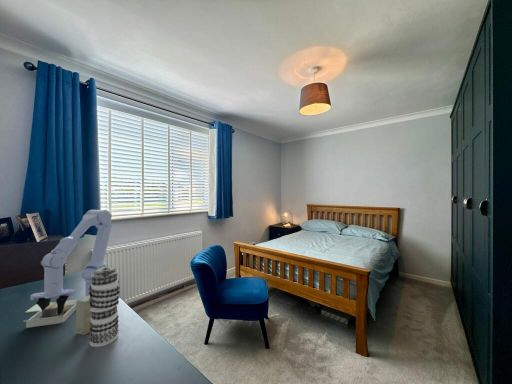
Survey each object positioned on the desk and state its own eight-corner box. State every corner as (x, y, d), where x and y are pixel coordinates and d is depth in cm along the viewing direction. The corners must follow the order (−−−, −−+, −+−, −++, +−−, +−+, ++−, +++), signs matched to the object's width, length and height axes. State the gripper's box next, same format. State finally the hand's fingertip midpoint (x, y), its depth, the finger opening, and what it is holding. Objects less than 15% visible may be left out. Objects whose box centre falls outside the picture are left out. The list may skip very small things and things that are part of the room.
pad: (54, 303, 103) (54, 302, 103) (44, 310, 97) (44, 309, 97) (36, 305, 101) (36, 304, 101) (25, 313, 94) (25, 312, 95)
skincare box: (84, 335, 80) (85, 302, 80) (74, 333, 80) (75, 300, 81) (100, 325, 86) (100, 294, 86) (91, 324, 87) (91, 293, 87)
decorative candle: (88, 337, 79) (88, 268, 79) (118, 327, 84) (118, 263, 85) (87, 351, 71) (88, 275, 72) (120, 340, 77) (121, 269, 77)
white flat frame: (78, 307, 100) (78, 299, 100) (60, 325, 86) (60, 316, 86) (46, 311, 96) (46, 302, 96) (22, 330, 82) (22, 321, 82)
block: (63, 312, 95) (63, 301, 95) (54, 321, 88) (54, 309, 88) (52, 314, 94) (52, 302, 94) (41, 323, 87) (42, 310, 87)
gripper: (25, 287, 85) (24, 322, 85) (69, 283, 89) (69, 316, 89) (37, 281, 92) (36, 313, 92) (78, 277, 96) (77, 308, 96)
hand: (53, 314), depth 91 cm, fingers closed on block, 4 cm apart
